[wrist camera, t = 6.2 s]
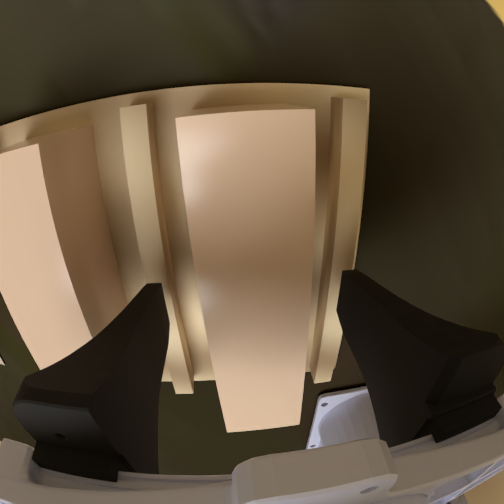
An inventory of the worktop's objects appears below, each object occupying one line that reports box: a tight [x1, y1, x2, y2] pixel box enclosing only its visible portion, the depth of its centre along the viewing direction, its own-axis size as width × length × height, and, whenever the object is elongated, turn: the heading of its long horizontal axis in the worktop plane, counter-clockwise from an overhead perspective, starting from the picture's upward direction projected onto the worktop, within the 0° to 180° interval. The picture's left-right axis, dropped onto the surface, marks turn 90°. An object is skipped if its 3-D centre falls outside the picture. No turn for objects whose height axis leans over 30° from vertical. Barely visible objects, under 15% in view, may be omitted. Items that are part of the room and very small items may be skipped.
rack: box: [0, 83, 370, 394], centre depth 14 cm, size 16×18×2 cm
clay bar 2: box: [175, 103, 316, 432], centre depth 13 cm, size 14×4×4 cm, turn 3°
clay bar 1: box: [0, 124, 128, 370], centre depth 12 cm, size 14×4×4 cm, turn 1°
